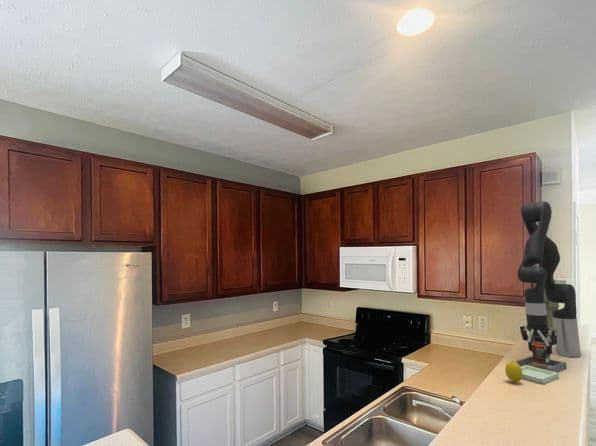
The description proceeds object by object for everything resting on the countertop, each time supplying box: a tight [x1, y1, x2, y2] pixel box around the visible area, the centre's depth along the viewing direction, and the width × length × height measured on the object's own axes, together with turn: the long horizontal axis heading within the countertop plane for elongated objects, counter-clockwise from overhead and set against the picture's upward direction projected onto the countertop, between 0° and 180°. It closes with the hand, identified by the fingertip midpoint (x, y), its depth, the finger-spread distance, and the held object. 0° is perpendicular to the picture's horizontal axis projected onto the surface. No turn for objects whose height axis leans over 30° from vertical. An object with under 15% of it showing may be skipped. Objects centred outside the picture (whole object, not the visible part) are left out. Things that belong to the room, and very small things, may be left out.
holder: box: [516, 354, 567, 373], centre depth 146 cm, size 13×13×2 cm
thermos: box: [544, 277, 560, 341], centre depth 194 cm, size 9×12×35 cm
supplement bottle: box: [531, 336, 551, 366], centre depth 147 cm, size 6×6×11 cm
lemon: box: [504, 360, 523, 384], centre depth 131 cm, size 6×6×8 cm
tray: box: [521, 364, 560, 386], centre depth 135 cm, size 12×12×2 cm
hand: (540, 352), depth 146 cm, fingers closed on supplement bottle, 6 cm apart
